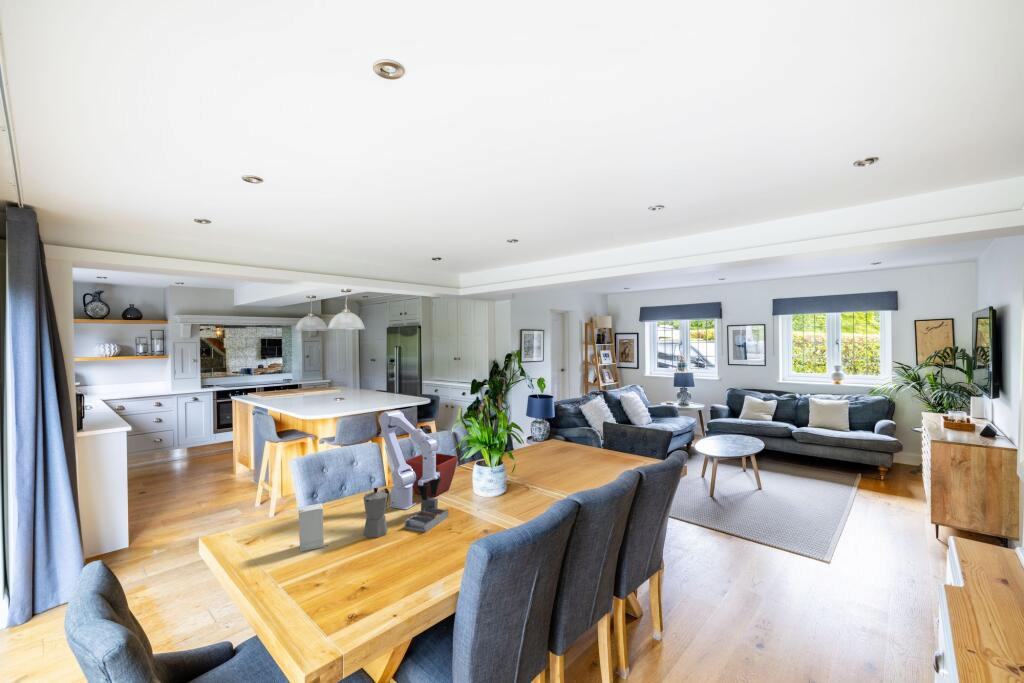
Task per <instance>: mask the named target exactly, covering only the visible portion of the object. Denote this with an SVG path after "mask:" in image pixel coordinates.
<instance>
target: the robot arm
mask: <svg viewBox="0 0 1024 683" xmlns="http://www.w3.org/2000/svg"><path fill="white" fill-rule="evenodd" d="M378 424H379V426H380V428H381V436H382V437H383V439H384V443H385V446H386V448H387V452H388V454H389V456H390V459H391V462H392V465H393V468H394V469H393V471H392V472H391V478H392V484H393V486H392V487H391V490H390V505H389V507H390V508H395V509H400V510H406V511H407V510H409V509H410V508H413V507H414V506H417V502H413V487H412V486H413V483H414V482H415V480H416V474H415V472H414V471H413V470H412V468H411V466H409V465H408V464H406V460H405V457H404V454H403V452H402V449H401V446H400V443H399V441H398V438H397V435H396V433H395V432H396V429H398V427H400V428H401V429H403V430H404V431H405V432H406V433H408V434H409V436H410V439H411V441H413V442H414V443H415V444H416V445H417V446H419V450H420V453H421V454H422V457H423V476H422V478H421V479H420V480H419V481H418V484H417V487H418V489H419V491H420V494H419V495H420V496H421V498H422V500H427V497H429V496H428V489H429V487H430V486H431V494H433V495H436V493H437V489H438V485H439V483H440V481H441V478H438V477H439V476H440V472H436V453H437V452H436V451H437V450H438V449H439V442H438V440H437V439H436V437H431V436H429V435H428V434H427V433H425V431H423V430H424V429H422V428H416V427H415V426H414V425H413V424H412V423H411V422H410V421H409V420H408V419H407V418H406V417H405V414H404V413H403V412H402V411H401V410H400V409H396V410H393V411H392V410H391V411H386V412H381V413H380V415H379V417H378ZM428 481H429V482H430V485H427V484H426V482H428Z"/></svg>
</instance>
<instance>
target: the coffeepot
mask: <svg viewBox="0 0 1024 683" xmlns="http://www.w3.org/2000/svg"><path fill="white" fill-rule="evenodd" d="M378 489H379V488H378V487H374V488H373V491H372V492H369V493H365V494H364V496H363V504H364V510H365V515H366V518H365V525H364V530H363V536H365V537H366V538H368V539H376V538H377V539H378V538H380V537H382V538H383V537H384V536H385V535H387V533H388V526H387V520H386V519H387V518H386V515H385V512H386V509H387V506H388V500H389V494H390V490H389V489H388V488H387V487H385V488H383V489H381V490H379V491H378Z"/></svg>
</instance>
